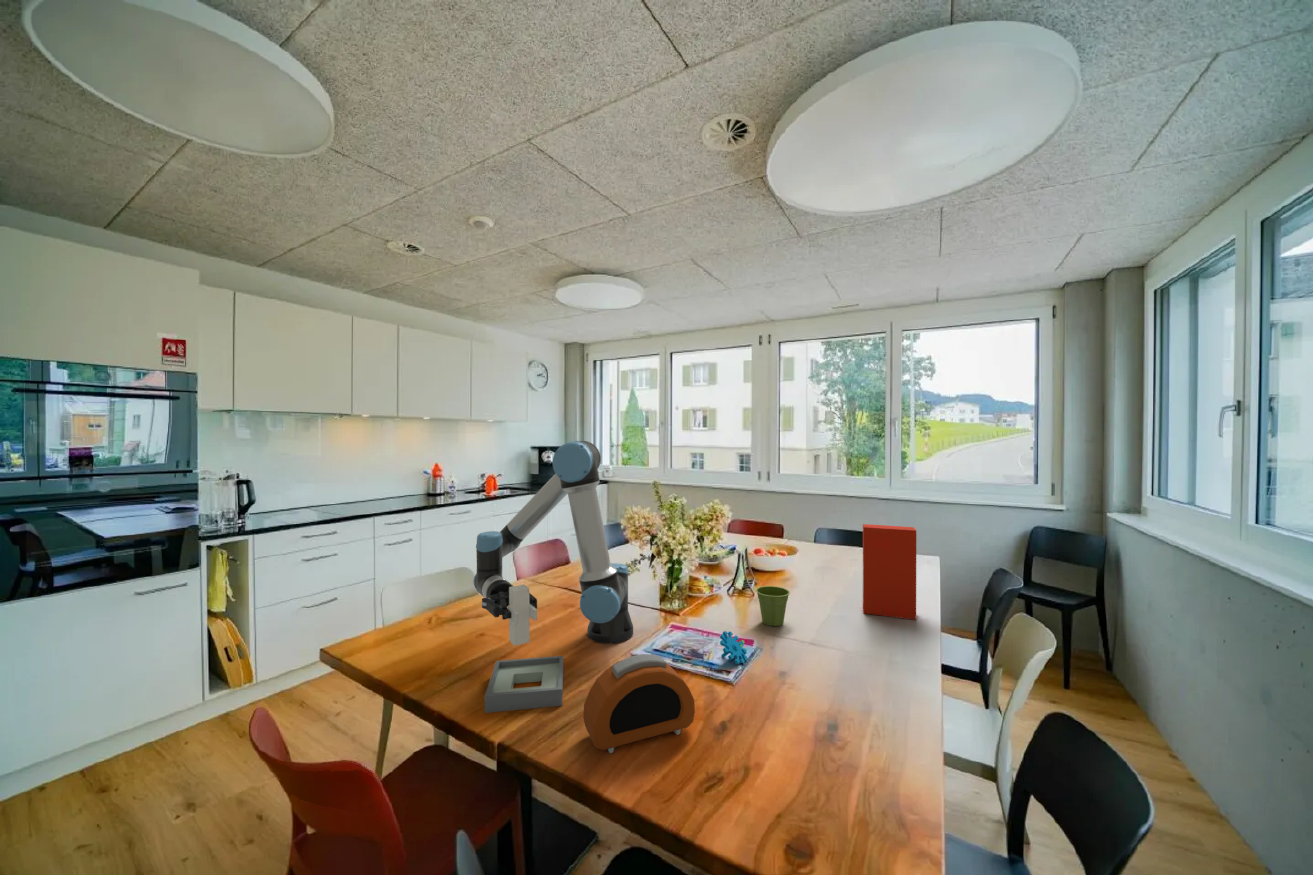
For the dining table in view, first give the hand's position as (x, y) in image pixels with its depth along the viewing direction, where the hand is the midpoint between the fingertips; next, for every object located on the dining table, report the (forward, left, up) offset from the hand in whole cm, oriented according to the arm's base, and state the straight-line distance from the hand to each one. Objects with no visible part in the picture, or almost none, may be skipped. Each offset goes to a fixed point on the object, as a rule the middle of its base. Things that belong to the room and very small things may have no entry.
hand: (526, 616), depth 121 cm
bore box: (0, -3, -20) cm, 20 cm away
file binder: (-127, -35, -20) cm, 133 cm away
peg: (+2, -5, -8) cm, 10 cm away
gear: (-58, -10, -20) cm, 63 cm away
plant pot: (-81, -34, -20) cm, 90 cm away
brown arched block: (-26, +20, -20) cm, 38 cm away
